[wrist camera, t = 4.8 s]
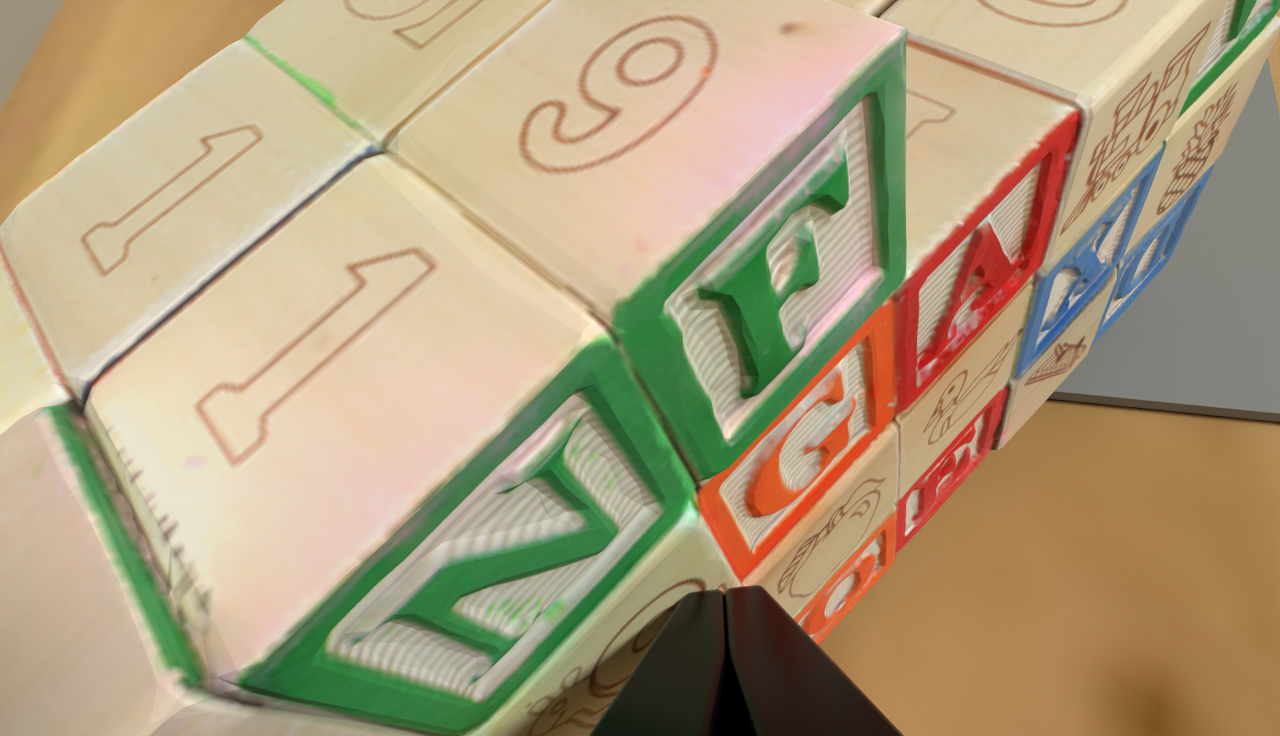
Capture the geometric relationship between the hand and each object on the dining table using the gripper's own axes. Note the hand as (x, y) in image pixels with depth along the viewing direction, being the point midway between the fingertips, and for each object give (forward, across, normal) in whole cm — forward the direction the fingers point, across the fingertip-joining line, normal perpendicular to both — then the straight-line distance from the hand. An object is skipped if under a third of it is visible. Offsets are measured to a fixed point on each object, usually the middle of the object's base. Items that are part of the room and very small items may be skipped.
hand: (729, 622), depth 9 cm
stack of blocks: (+8, 0, +3) cm, 8 cm away
